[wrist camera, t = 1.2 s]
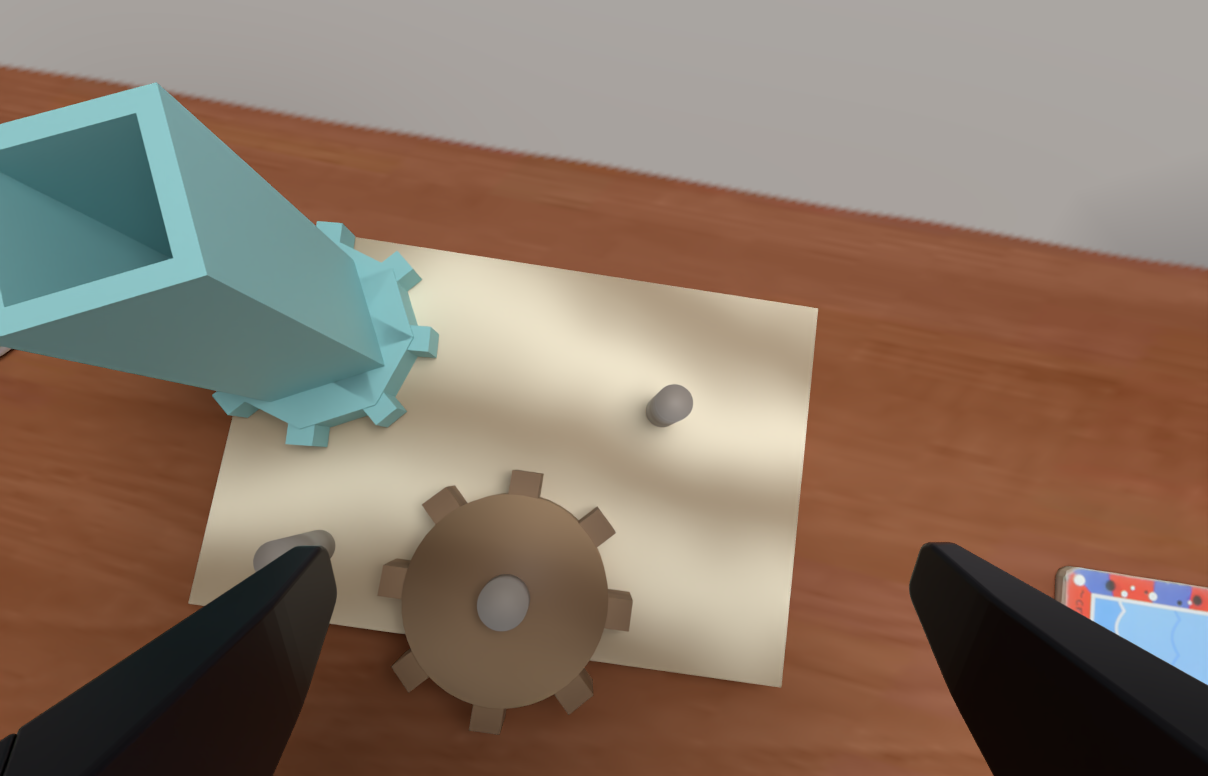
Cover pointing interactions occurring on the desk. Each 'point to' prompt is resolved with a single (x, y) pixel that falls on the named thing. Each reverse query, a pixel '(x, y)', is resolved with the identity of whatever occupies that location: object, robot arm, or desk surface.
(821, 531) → the desk surface
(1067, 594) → the puzzle board
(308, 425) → the teal gear
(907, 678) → the desk surface
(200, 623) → the robot arm
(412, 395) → the gear board
